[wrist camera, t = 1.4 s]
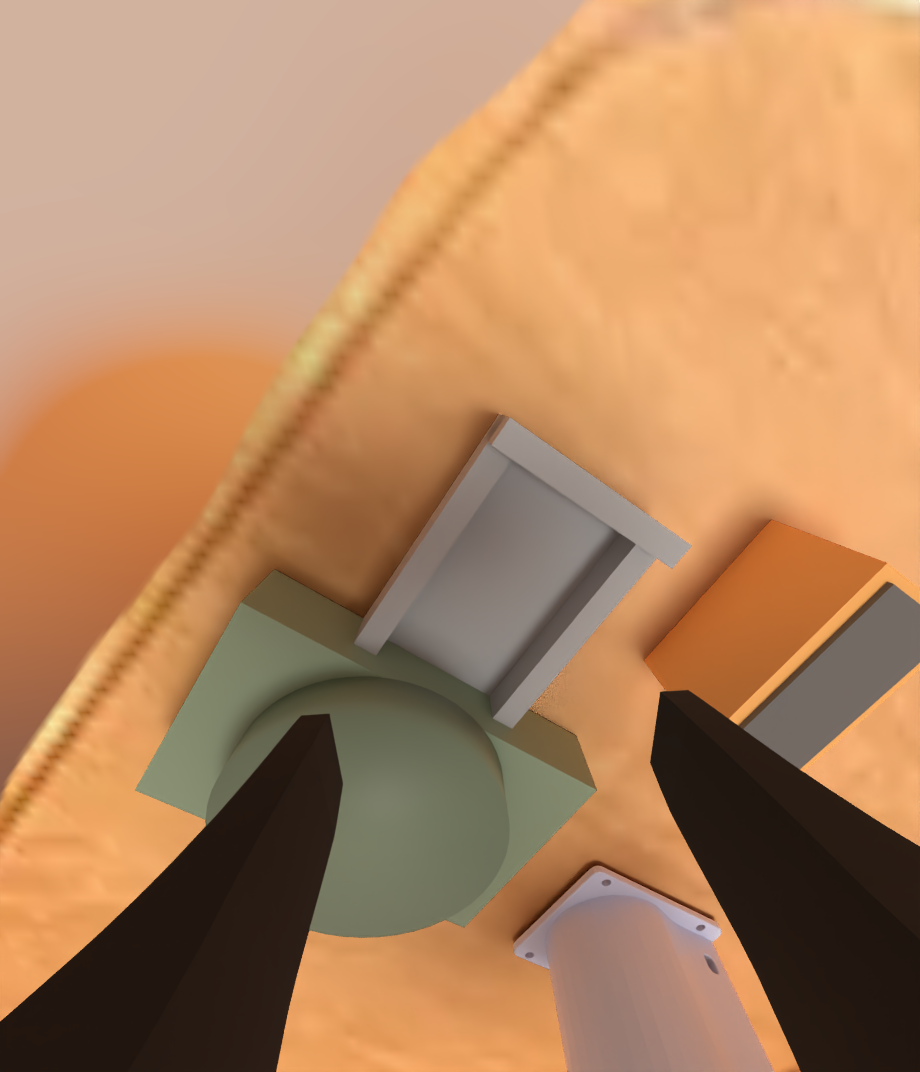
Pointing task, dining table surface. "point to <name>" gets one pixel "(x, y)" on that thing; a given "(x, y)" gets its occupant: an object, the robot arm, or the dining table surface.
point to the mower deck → (428, 688)
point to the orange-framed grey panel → (796, 641)
